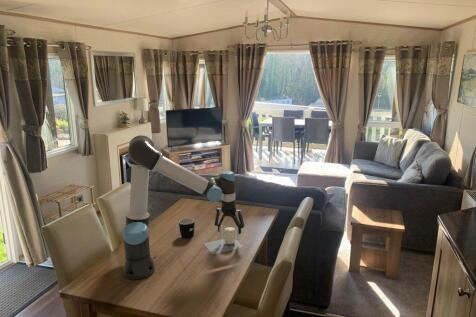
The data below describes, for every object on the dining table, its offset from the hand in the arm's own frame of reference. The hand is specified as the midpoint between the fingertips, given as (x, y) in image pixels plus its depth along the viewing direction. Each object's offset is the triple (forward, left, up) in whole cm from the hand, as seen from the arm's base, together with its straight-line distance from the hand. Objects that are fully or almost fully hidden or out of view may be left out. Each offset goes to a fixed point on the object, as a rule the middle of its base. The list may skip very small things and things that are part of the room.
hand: (229, 238), depth 199 cm
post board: (-4, 0, -5) cm, 6 cm away
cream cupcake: (0, 0, -2) cm, 2 cm away
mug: (-17, +22, -5) cm, 28 cm away
